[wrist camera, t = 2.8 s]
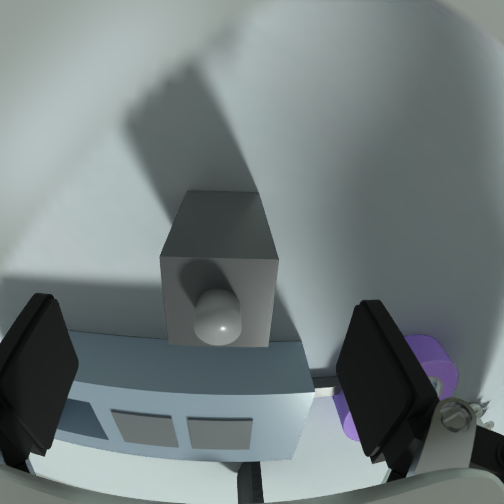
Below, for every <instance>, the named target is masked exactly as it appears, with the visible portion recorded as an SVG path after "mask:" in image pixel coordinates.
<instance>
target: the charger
mask: <svg viewBox="0 0 504 504" xmlns="http://www.w3.org/2000/svg"><path fill="white" fill-rule="evenodd" d="M278 263H279V258H278V255H277V252H276V248H275V245H274V241H273V238H272V235H271V231H270V228H269V225H268V221H267V218H266V215H265V211H264V208H263V205H262V201H261V198H260V195H259V193H255V192H228V191H187V193H186V195H185V198H184V200H183V202H182V204H181V207H180V209H179V211H178V214H177V216H176V218H175V221H174V223H173V225H172V228H171V230H170V232H169V235H168V237H167V239H166V242H165V244H164V247H163V249H162V252H161V254H160V268H161V279H162V290H163V300H164V309H165V318H166V326H167V334H168V342H169V345H183V346H209V347H268V345H269V337H270V329H271V321H272V313H273V305H274V297H275V288H276V280H277V271H278Z"/></svg>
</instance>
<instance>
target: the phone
mask: <svg viewBox="0 0 504 504" xmlns="http://www.w3.org/2000/svg"><path fill="white" fill-rule="evenodd" d="M237 490H238V504H258V503H264V499H263V489H262V478H261V468H260V461H251V462H243V463H242V465H241V467H240V469H239V471H238V475H237Z"/></svg>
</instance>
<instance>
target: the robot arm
mask: <svg viewBox="0 0 504 504" xmlns="http://www.w3.org/2000/svg"><path fill="white" fill-rule="evenodd" d="M78 367H79V361H78V357H77V355H76V352H75V349H74V347H73V344H72V341H71V339H70V336H69V333H68V330H67V327H66V325H65V322H64V319H63V316H62V312H61V309H60V306H59V303H58V301H57V300H56V299H54V297H53V296H52V295H51V294H43V293H35V294H34V295H33V296H32V298H31V299H30V300H29V302H28V303H27V305H26V306H25V307H24V309H23V310H22V312H21V313H20V315H19V316H18V317H17V319H16V320H15V322H14V323H13V325H12V326H11V328H10V329H9V331H8V332H7V334H6V336H5V337H4V339H3V340H2V342H1V343H0V504H184V503H170V502H159V501H150V500H142V499H135V498H128V497H122V496H116V495H110V494H105V493H100V492H95V491H91V490H86V489H82V488H78V487H73V486H70V485H66V484H62V483H59V482H55V481H52V480H48V479H45V478H42V477H39V476H36V474H35V472H34V469H33V467H32V465H31V463H30V460H29V458H28V457H29V454H30V452H31V453H34V454H37V455H41V456H44V457H45V454H46V451H47V449H50V448H51V446H52V443H53V440H54V436H55V433H56V430H57V427H58V424H59V421H60V418H61V415H62V412H63V409H64V406H65V403H66V400H67V397H68V395H69V392H70V389H71V386H72V384H73V381H74V378H75V376H76V373H77V371H78ZM336 372H337V376H338V379H339V382H340V384H341V387H342V390H343V393H344V396H345V399H346V401H347V404H348V407H349V410H350V413H351V416H352V419H353V422H354V424H355V427H356V430H357V433H358V436H359V439H360V442H361V445H362V448H363V451H364V454H365V455H366V456H367V457H369V456H370V459H371V462H372V464H374V463H378V462H382V461H386V463H387V465H388V471H387V473H386V475H385V477H384V479H383V481H382V483H381V484H380V485H376V486H372V487H367V488H363V489H358V490H354V491H349V492H344V493H338V494H333V495H327V496H322V497H315V498H308V499H301V500H293V501H283V502H272V503H258V504H504V435H501V434H499V433H496V432H494V431H491V429H492V428H493V427H494V422H493V421H489V422H487V423H485V424H483V422H482V421H481V419H480V418H481V416H482V412H483V411H482V408H481V407H480V405H479V404H477V403H471V404H468V403H467V402H465V401H463V400H461V399H458V398H454V397H451V398H445V399H443V400H441V401H440V399H439V398H438V394H437V392H436V390H435V388H434V387H433V385H432V383H431V381H430V380H429V378H428V376H427V374H426V373H425V371H424V369H423V368H422V366H421V364H420V363H419V361H418V359H417V358H416V356H415V354H414V353H413V351H412V349H411V348H410V346H409V344H408V343H407V341H406V340H405V338H404V336H403V335H402V333H401V332H400V330H399V328H398V327H397V325H396V324H395V322H394V320H393V319H392V317H391V316H390V314H389V313H388V311H387V310H386V308H385V307H384V305H383V303H382V302H381V301H380V300H363V301H361V302H360V304H359V305H356V306H355V308H354V311H353V315H352V318H351V321H350V324H349V328H348V331H347V334H346V337H345V340H344V343H343V346H342V349H341V352H340V355H339V358H338V361H337V365H336Z"/></svg>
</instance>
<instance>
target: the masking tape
mask: <svg viewBox="0 0 504 504" xmlns="http://www.w3.org/2000/svg"><path fill="white" fill-rule="evenodd" d="M404 338H405V340H406V341H407V343H408V344H409V346H410V348H411V349H412V351H413V353H414V354H415V356H416V358H417V359H418V361H419V363H420V364H421V366H422V368H423V369H424V371H425V373H426V374H427V376H428V378H429V380H430V381H431V383H432V385H433V387H434V388H435V390H436V392H437V394H438V398H439V399H440V401H441V400H443V399H445V398H450V397H451V395H452V394H453V392H454V390H455V388H456V385H457V382H458V370H457V368H456V366H455V365H454V363H453V362H452V360H451V359H450V357H449V356H448V355H447V353H446V352H445V350H444V349H443V347H442V346H441V345H440V343H439V342H438V341H437V340H436V339H434V338H432V337H430V336H425V335H409V336H404ZM334 402H335V405H336V408H337V411H338V415H339V418H340V421H341V424H342V427H343V431H344V433H345V434H346V436H348V437H349V438H350V439H352V440H355V441H359V442H360V439H359V436H358V433H357V430H356V427H355V424H354V422H353V419H352V416H351V413H350V410H349V407H348V404H347V401H346V399H345V396H344V393H343V390H342V387H341V389H340V392H339V394H338V395H334Z"/></svg>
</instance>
